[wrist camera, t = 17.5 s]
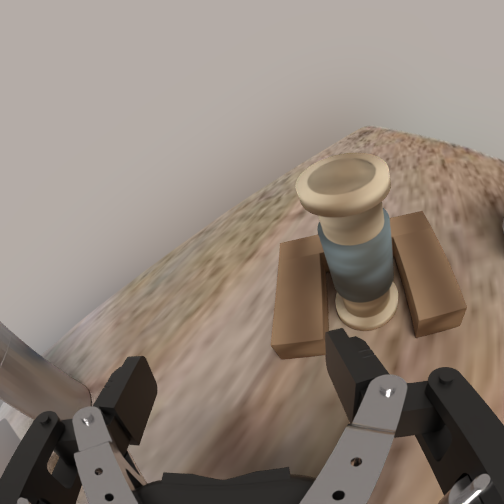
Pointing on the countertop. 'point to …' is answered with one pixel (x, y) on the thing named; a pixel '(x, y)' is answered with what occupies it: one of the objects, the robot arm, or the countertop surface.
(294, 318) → the notched board
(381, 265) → the cord spool
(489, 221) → the countertop surface
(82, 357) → the countertop surface
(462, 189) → the countertop surface
